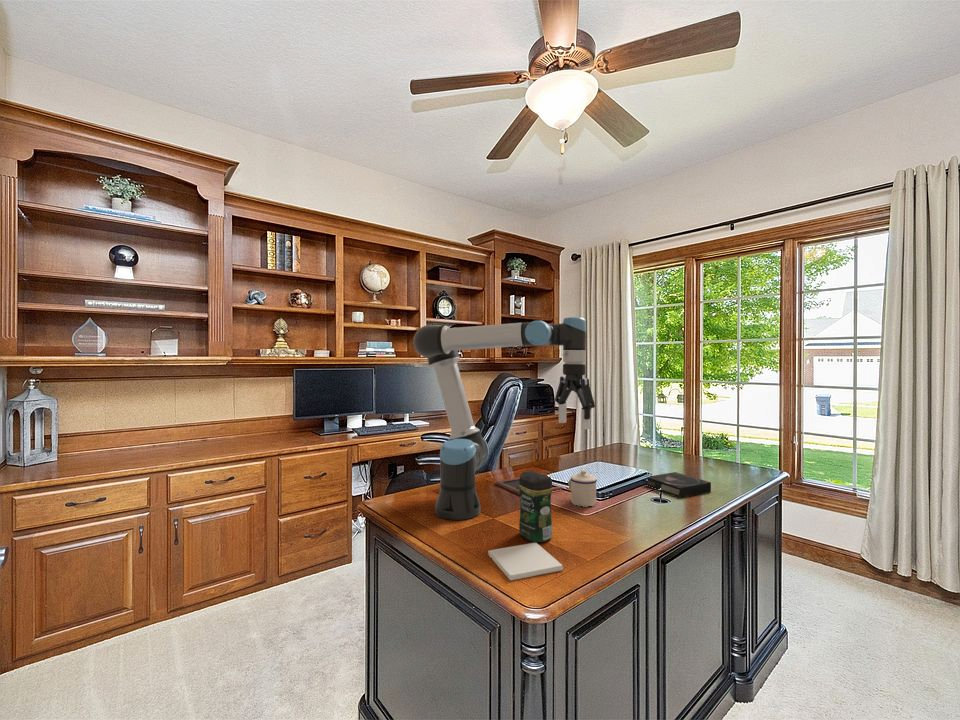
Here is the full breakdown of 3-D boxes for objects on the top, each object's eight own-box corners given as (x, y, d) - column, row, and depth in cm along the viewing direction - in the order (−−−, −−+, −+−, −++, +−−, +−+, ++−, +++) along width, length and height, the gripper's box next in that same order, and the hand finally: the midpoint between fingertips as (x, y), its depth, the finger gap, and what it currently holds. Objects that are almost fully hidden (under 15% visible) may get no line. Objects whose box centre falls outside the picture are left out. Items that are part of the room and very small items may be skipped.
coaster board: (488, 555, 117) (488, 550, 117) (535, 546, 121) (535, 542, 121) (510, 580, 103) (510, 575, 103) (562, 570, 108) (562, 565, 108)
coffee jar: (514, 534, 130) (514, 471, 130) (535, 528, 134) (535, 467, 134) (535, 546, 122) (535, 479, 122) (557, 539, 126) (557, 474, 126)
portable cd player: (644, 486, 177) (644, 476, 177) (675, 481, 184) (675, 472, 184) (678, 499, 162) (678, 488, 162) (710, 492, 169) (710, 482, 169)
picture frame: (525, 499, 162) (576, 488, 175) (525, 494, 162) (576, 483, 175) (495, 485, 179) (543, 476, 192) (495, 480, 179) (543, 472, 192)
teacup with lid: (602, 504, 155) (602, 471, 155) (583, 509, 150) (583, 475, 150) (578, 495, 165) (578, 464, 165) (559, 499, 161) (559, 467, 161)
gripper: (545, 362, 160) (545, 420, 161) (586, 364, 137) (586, 432, 137) (563, 362, 163) (562, 419, 163) (606, 364, 140) (605, 431, 140)
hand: (573, 425), depth 150 cm, fingers open, 13 cm apart
